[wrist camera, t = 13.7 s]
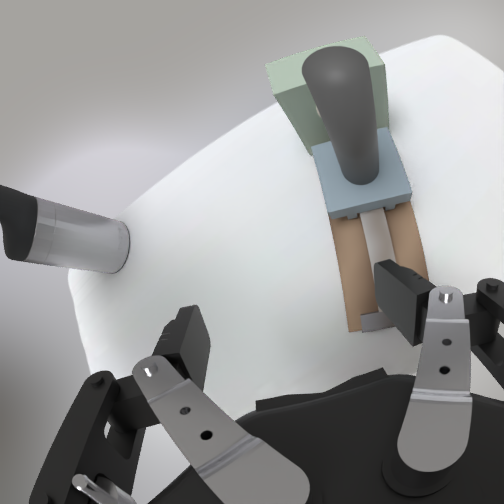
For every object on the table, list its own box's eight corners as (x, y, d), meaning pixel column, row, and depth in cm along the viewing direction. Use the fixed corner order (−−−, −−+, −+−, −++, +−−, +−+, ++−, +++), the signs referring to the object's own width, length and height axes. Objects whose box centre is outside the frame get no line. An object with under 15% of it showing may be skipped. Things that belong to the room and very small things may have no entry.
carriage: (334, 222, 27) (275, 138, 12) (319, 162, 29) (254, 53, 14) (408, 205, 24) (434, 99, 9) (387, 145, 25) (376, 20, 10)
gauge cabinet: (311, 160, 31) (274, 100, 20) (302, 127, 32) (264, 64, 21) (390, 140, 27) (388, 69, 16) (376, 107, 28) (364, 36, 17)
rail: (349, 330, 27) (346, 335, 24) (314, 156, 31) (308, 144, 28) (431, 313, 23) (438, 316, 20) (385, 138, 27) (385, 124, 25)
